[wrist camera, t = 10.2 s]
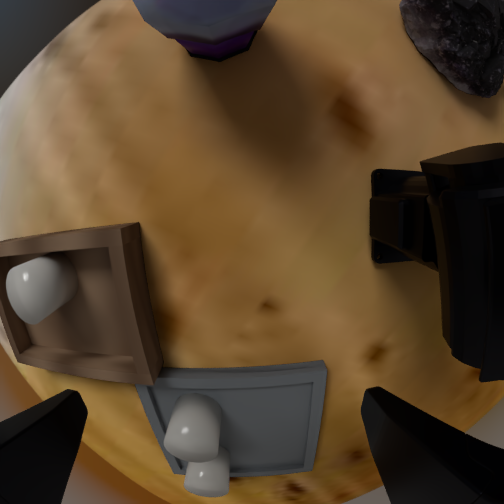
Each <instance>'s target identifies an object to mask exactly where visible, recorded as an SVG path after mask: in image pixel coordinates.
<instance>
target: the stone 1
mask: <svg viewBox="0 0 504 504" xmlns="http://www.w3.org/2000/svg"><path fill="white" fill-rule="evenodd" d="M6 289H7V295H8V298H9V301H10V303H11V306H12V308H13V309H14V311H15V312H16V314H17V315H18V316H19V317H20V318H21V319H22V320H23V321H25V322H26V323H28V324H33V325H34V324H38V323H39V322H40V321H42V320H43V319H44V318H46V317H47V316H49V315H50V314H51V313H53V312H54V311H55V310H57V309H58V308H60V307H61V306H62V305H64V304H65V303H67V302H68V301H69V300H71V299H72V298H73V297H74V296H75V295H76V293H77V289H78V277H77V273H76V270H75V267H74V265H73V264H72V262H71V261H70V260H69V258H68V257H67V256H65V255H64V254H62V253H60V252H50V253H48V254H45V255H43V256H40V257H38V258H35V259H33V260H30V261H28V262H25V263H23V264H20V265H18V266H16V267H13V268H12V269H11V270H10V271H9V273H8V275H7V279H6Z"/></svg>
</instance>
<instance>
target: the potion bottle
mask: <svg viewBox="0 0 504 504" xmlns="http://www.w3.org/2000/svg"><path fill="white" fill-rule="evenodd" d="M276 1H277V0H133V2H134V3H135V5H136V7H137V9H138V10H139V12H140V14H141V16H142V17H143V19H144V21H145V22H147V23H148V24H150V25H151V26H152V27H154V28H155V29H156V30H158V31H159V32H160V33H162V34H163V35H164V36H166V37H167V38H171V39H175V40H176V41H177V42H179V43H180V44H181V45H182V46H183V47H185V48H186V49H187V51H188V53H189V55H190V56H191V57H197V58H203V59H208V60H213V61H218V62H221V61H223V60H225V59H228V58H230V57H233V56H235V55H237V54H240V53H242V52H245V51H248V50H249V48H250V46H251V44H252V41H253V39H254V37H255V35H256V33H257V30H260V29H261V27H262V25H263V23H264V22H265V20H266V18H267V17H268V15H269V13H270V12H271V10H272V8H273V7H274V5H275V3H276Z"/></svg>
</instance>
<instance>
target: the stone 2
mask: <svg viewBox="0 0 504 504" xmlns="http://www.w3.org/2000/svg"><path fill="white" fill-rule="evenodd" d="M221 416H222V409H221V406H220V405H219V404H218V402H217V401H215V400H214V399H213V398H211V397H209V396H207V395H204V394H199V393H188V394H184V395H181V396H180V397H179V398H177V400H176V402H175V405H174V408H173V411H172V415H171V418H170V422H169V425H168V428H167V432H166V435H165V439H164V447H165V448H166V450H167V451H168V452H169V453H170V454H172V455H173V456H175V457H177V458H179V459H181V460H184V461H188V462H195V463H202V462H208V461H211V460H213V459H214V458H216V457H217V455H218V449H219V438H220V427H221Z"/></svg>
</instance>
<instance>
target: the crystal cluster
mask: <svg viewBox="0 0 504 504" xmlns="http://www.w3.org/2000/svg"><path fill="white" fill-rule="evenodd" d="M399 6H400V11H401V15H402V17H403V19H404V23H405V27H406V31H407V33H408V34H409V36H410V38H411V39H412V40H413V42H414V43H415V45H416V47H417V49H418V50H419V51H420V52H421V53H422V54H423V55H424V56H426V57H427V58H428V59H429V60H430V61H431V62H432V63H433V64H434V65H435V66H436V68H437V69H438V71H439V72H441V73H443V74H444V75H445V76H446V78H447V79H448V80H449V81H450V82H451V83H453V84H454V86H455V87H456V88H457V89H459V90H461V91H464V92H466V93H468V94H472V95H477V96H482V97H486V98H490V97H491V96H493V95H496V93H497V92H498V90H499V88H500V87H501V84H502V83H503V79H504V0H402V1H401V2H400V4H399Z"/></svg>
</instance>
